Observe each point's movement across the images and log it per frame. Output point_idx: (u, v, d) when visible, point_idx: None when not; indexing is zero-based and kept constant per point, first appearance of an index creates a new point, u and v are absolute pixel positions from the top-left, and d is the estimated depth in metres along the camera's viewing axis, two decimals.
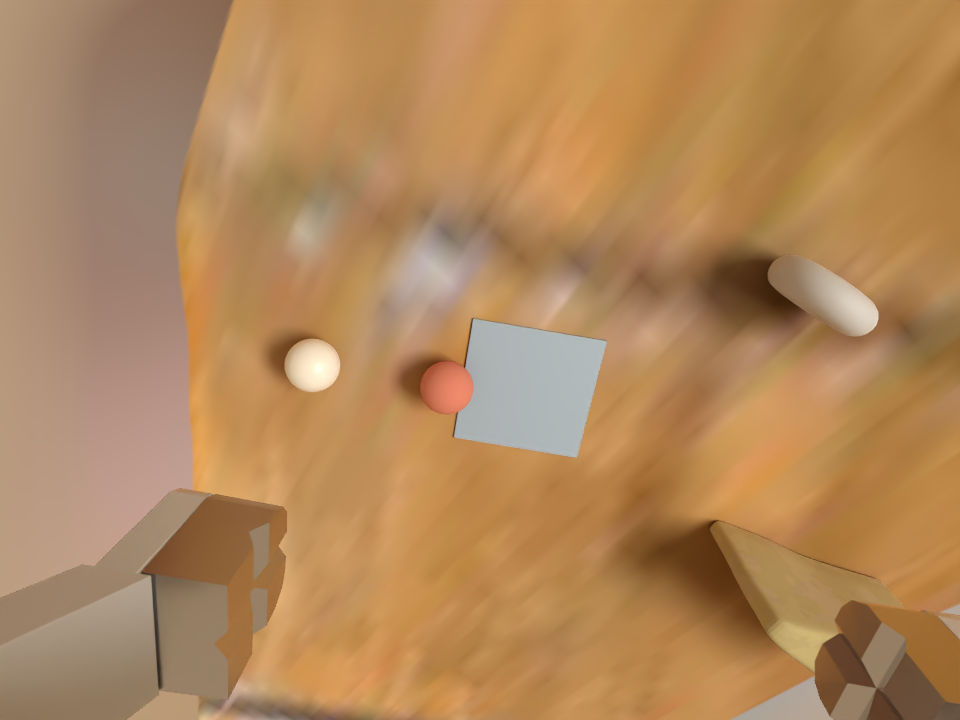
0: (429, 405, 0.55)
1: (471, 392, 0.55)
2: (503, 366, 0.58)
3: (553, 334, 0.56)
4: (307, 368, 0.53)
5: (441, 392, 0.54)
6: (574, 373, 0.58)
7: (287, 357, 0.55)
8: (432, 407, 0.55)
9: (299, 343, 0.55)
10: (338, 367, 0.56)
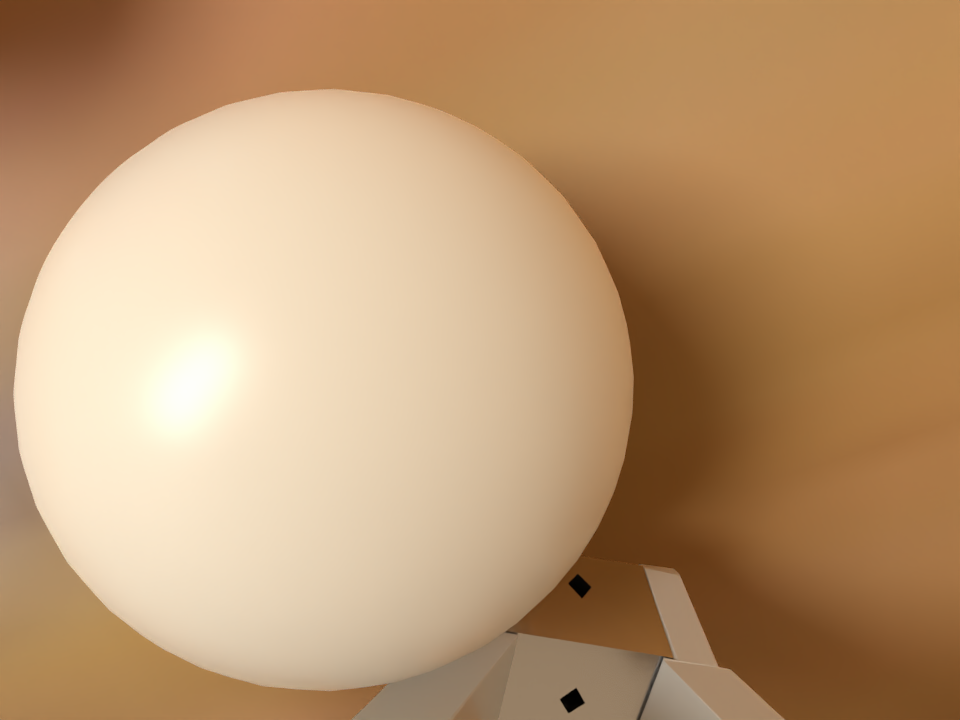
0: None
1: None
2: None
3: None
4: (36, 282, 0.04)
5: None
6: None
7: (207, 623, 0.03)
8: None
9: None
10: None
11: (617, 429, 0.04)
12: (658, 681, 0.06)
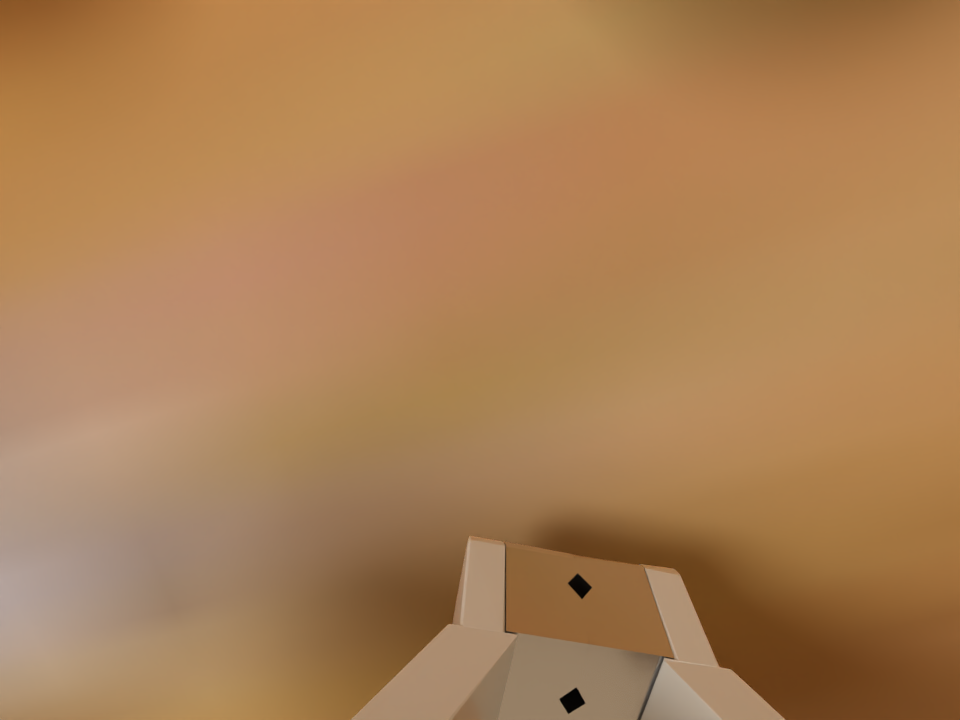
0: None
1: None
2: None
3: None
4: None
5: None
6: None
7: None
8: None
9: None
10: None
11: None
12: (659, 681, 0.06)
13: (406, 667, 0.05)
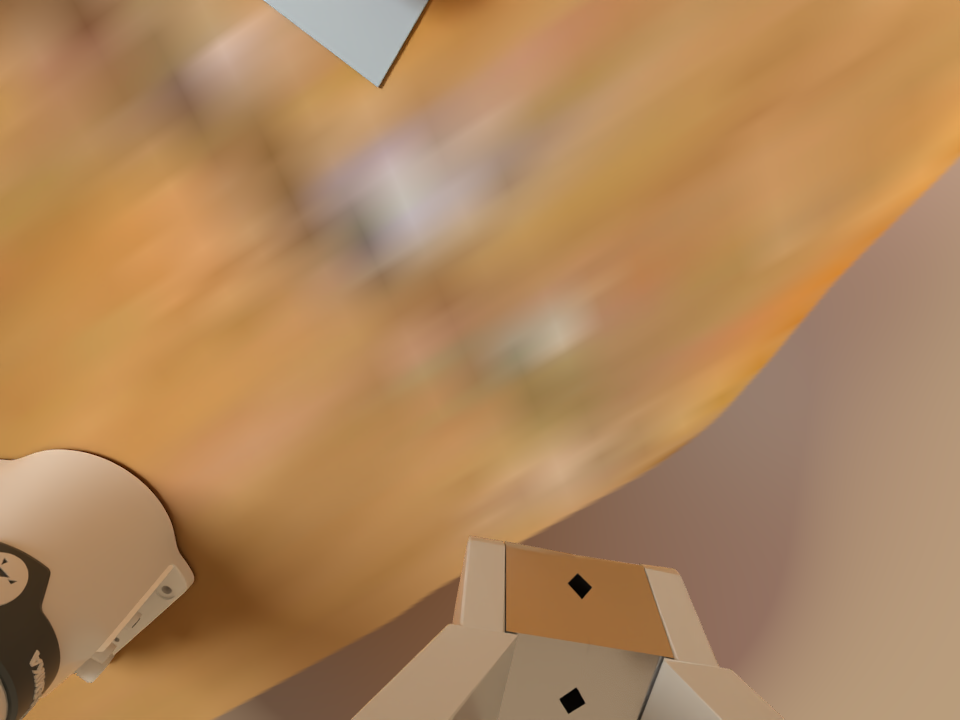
0: None
1: None
2: None
3: None
4: None
5: None
6: None
7: None
8: None
9: None
10: None
11: None
12: (659, 681, 0.06)
13: (406, 667, 0.05)
